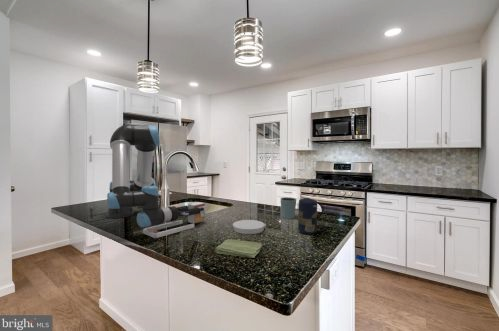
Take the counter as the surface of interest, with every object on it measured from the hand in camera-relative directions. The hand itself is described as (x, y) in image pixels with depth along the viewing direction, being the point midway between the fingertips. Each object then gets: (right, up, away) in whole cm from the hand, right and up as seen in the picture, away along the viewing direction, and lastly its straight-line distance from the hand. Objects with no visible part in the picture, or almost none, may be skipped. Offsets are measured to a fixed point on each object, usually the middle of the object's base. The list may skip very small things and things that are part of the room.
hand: (203, 207), depth 145 cm
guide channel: (-15, -9, -17) cm, 24 cm away
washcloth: (+23, -11, -43) cm, 50 cm away
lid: (+28, -10, -13) cm, 32 cm away
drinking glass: (+52, -9, +11) cm, 54 cm away
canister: (+57, -10, -18) cm, 61 cm away
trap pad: (-20, -9, -23) cm, 32 cm away
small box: (-3, -8, -4) cm, 9 cm away
